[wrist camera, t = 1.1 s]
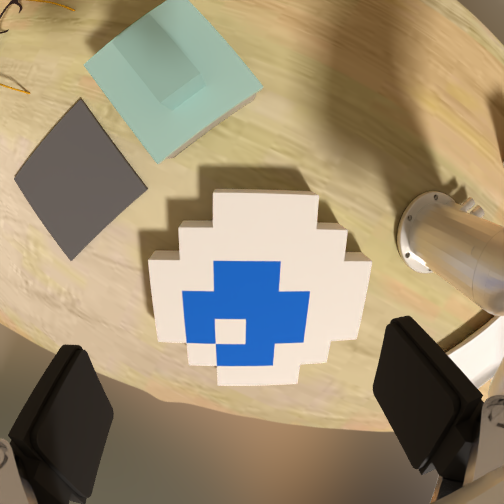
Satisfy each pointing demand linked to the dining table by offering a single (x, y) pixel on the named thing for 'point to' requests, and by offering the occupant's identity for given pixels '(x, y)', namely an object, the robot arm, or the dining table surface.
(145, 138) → the lid
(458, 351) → the salad plate
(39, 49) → the dining table surface
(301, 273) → the pixel art tile
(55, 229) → the mat
